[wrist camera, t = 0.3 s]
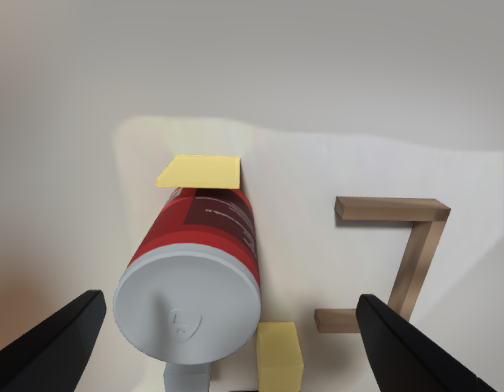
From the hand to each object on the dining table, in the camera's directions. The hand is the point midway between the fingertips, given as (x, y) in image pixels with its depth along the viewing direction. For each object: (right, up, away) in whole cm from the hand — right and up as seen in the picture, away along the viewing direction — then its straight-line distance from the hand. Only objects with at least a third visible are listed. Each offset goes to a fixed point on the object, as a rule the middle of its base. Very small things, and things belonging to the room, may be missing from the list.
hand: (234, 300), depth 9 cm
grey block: (-6, -13, +21) cm, 25 cm away
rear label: (-3, +7, +12) cm, 14 cm away
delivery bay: (+12, -3, +17) cm, 21 cm away
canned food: (-3, +2, +15) cm, 15 cm away
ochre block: (+3, -12, +21) cm, 24 cm away
